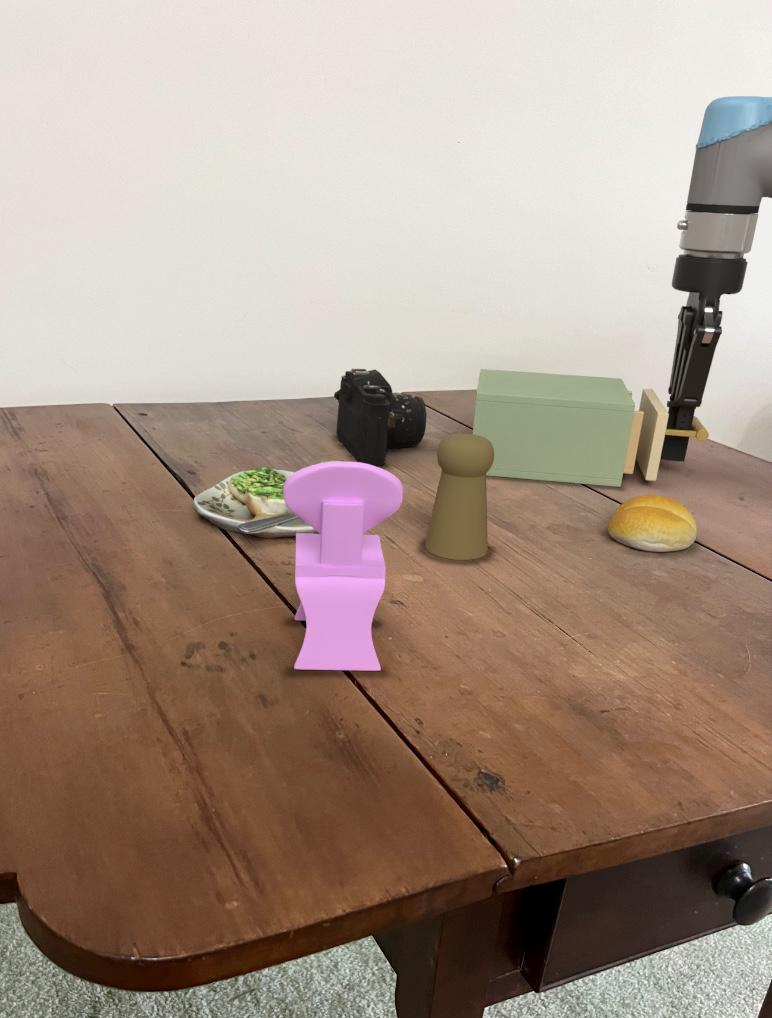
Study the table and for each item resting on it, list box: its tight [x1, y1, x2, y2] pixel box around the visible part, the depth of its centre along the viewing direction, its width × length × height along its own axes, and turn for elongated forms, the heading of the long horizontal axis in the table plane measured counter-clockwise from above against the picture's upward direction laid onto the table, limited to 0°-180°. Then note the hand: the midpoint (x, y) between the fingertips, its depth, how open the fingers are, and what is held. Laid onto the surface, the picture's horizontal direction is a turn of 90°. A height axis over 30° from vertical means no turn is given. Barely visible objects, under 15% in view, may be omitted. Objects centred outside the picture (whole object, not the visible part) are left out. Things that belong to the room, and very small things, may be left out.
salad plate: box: [193, 459, 346, 539], centre depth 94 cm, size 19×18×5 cm
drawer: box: [623, 388, 710, 482], centre depth 112 cm, size 22×14×8 cm, turn 79°
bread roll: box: [607, 494, 698, 553], centre depth 92 cm, size 8×9×4 cm
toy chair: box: [283, 460, 404, 672], centre depth 67 cm, size 8×9×15 cm
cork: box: [424, 433, 494, 561], centre depth 86 cm, size 6×6×11 cm
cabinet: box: [471, 368, 636, 488], centre depth 114 cm, size 18×15×10 cm
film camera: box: [333, 368, 428, 467], centre depth 118 cm, size 18×12×10 cm
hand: (671, 458), depth 112 cm, fingers closed
